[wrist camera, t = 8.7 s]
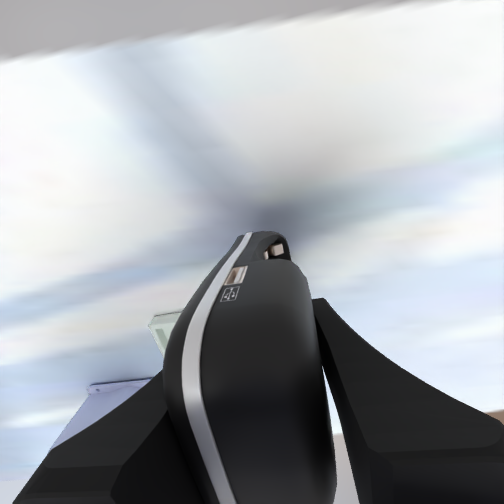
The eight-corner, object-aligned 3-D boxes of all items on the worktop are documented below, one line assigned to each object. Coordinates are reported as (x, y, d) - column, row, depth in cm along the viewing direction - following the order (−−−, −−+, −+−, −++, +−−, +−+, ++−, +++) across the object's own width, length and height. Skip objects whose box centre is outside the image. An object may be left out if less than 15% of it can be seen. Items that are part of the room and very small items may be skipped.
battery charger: (311, 317, 17) (360, 570, 6) (258, 323, 18) (218, 560, 7) (295, 219, 15) (325, 340, 4) (236, 230, 16) (132, 359, 5)
